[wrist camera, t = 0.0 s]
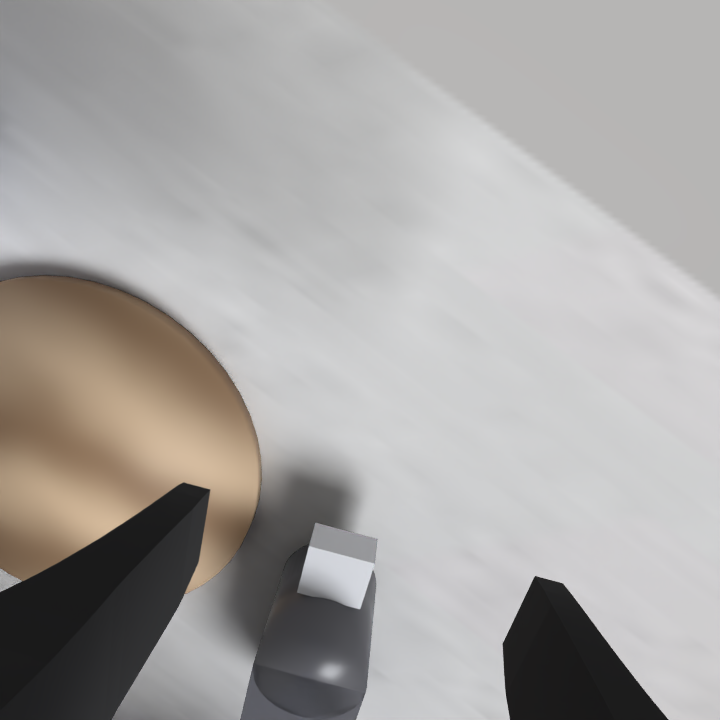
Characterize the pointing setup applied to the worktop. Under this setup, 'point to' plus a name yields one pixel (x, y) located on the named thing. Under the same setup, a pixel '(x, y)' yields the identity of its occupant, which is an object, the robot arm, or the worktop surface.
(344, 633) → the dark grey rounded block
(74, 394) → the round copper disc
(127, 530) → the robot arm
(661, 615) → the worktop surface
